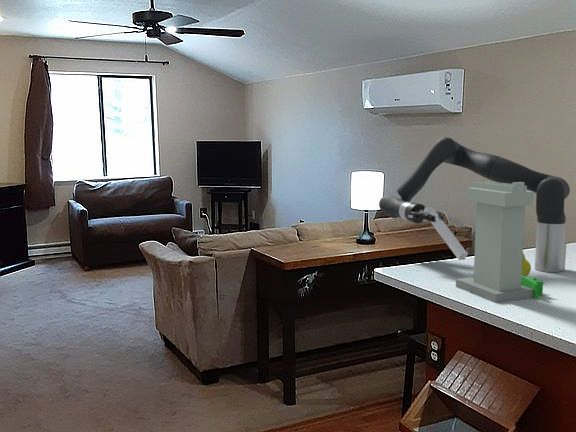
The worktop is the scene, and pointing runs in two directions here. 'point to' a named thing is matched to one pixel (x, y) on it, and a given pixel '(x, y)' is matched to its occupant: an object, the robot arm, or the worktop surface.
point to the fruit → (525, 266)
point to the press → (498, 241)
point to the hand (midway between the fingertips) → (438, 218)
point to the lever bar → (446, 234)
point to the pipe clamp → (533, 285)
